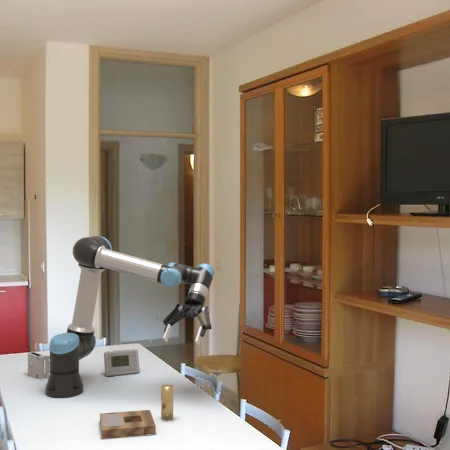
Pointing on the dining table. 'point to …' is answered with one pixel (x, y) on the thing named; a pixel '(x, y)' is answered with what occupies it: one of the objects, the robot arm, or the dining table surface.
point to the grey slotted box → (38, 365)
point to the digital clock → (121, 362)
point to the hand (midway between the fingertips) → (180, 341)
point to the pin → (167, 402)
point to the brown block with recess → (126, 424)
